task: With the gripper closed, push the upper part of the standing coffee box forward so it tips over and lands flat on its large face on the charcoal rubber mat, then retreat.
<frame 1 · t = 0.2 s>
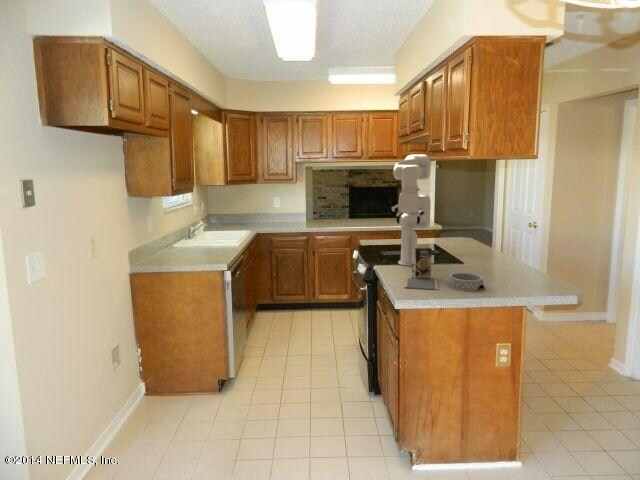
hand: (408, 224, 232), 31 cm above the countertop, fingers open, 9 cm apart
mat: (421, 284, 234), on the countertop
dog bowl: (465, 286, 231), on the countertop
coffee box: (421, 277, 247), on the countertop, touching mat
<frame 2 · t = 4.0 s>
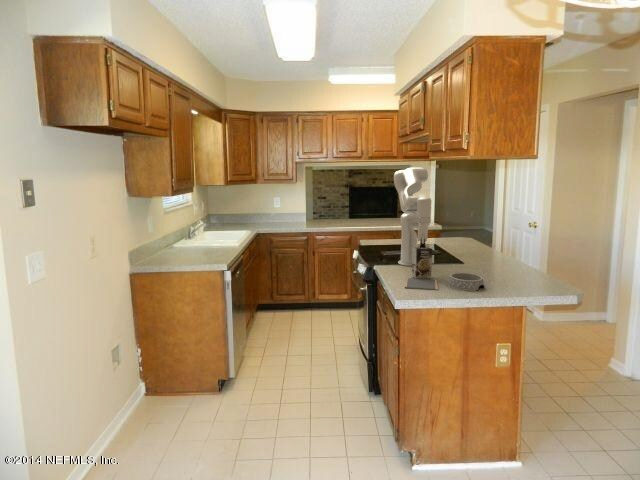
hand: (422, 253, 251), 12 cm above the countertop, fingers closed
coffee box: (421, 277, 247), on the countertop, touching gripper, mat
everything else where it was.
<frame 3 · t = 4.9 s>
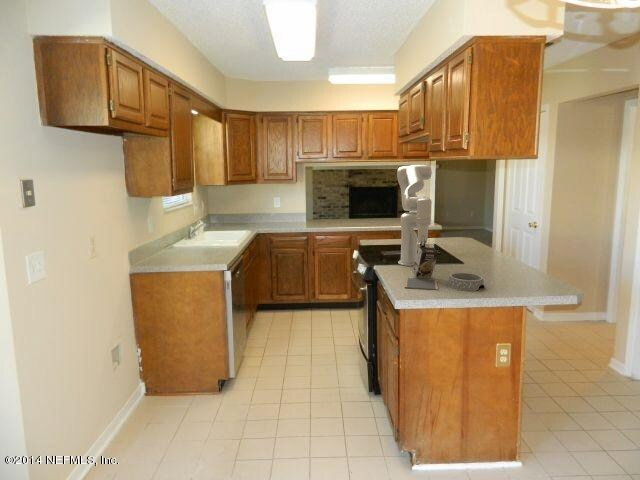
hand: (422, 255, 246), 12 cm above the countertop, fingers closed
coffee box: (421, 276, 246), point 1 cm above the countertop, touching mat
everything else where it was.
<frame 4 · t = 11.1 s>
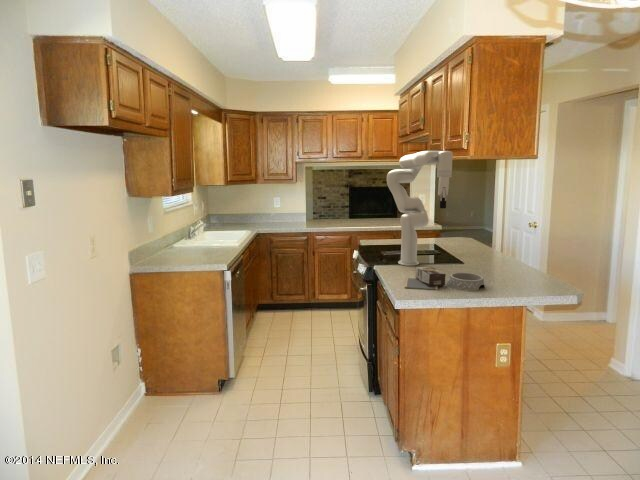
hand: (442, 208, 248), 37 cm above the countertop, fingers closed
coffee box: (423, 272, 243), point 4 cm above the countertop, touching mat
everything else where it was.
at the end: coffee box tilted 90°; coffee box inside the target area (10.4 cm from its centre), point 3.8 cm above the countertop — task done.
